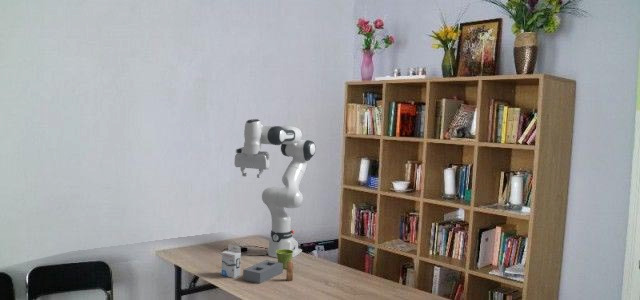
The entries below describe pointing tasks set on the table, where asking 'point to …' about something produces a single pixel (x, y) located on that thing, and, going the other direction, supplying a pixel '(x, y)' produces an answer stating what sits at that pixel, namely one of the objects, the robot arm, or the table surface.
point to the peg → (289, 271)
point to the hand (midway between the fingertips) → (251, 177)
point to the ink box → (231, 261)
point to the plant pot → (284, 256)
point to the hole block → (262, 271)
